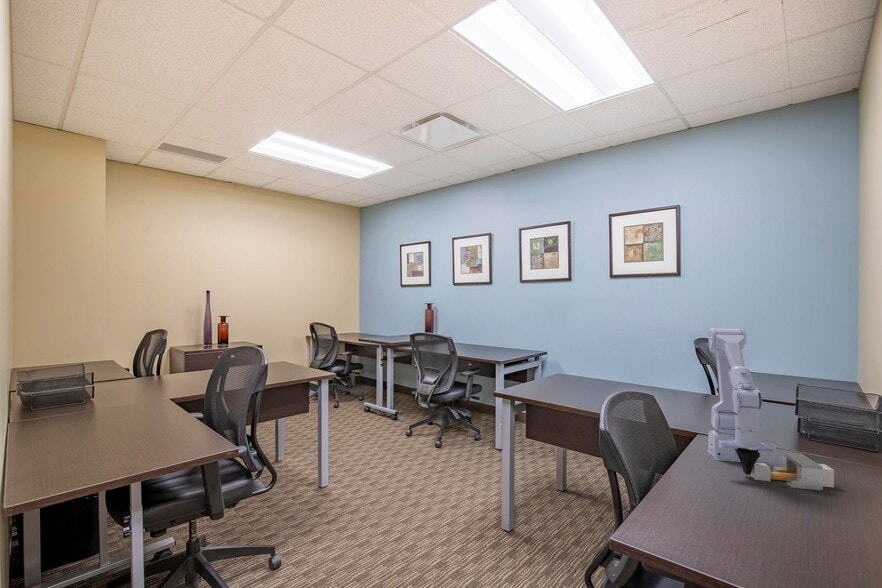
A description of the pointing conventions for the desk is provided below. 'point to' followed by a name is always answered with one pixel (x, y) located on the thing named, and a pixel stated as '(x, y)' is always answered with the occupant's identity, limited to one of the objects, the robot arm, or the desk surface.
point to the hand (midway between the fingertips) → (747, 473)
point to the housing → (801, 471)
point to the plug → (788, 474)
